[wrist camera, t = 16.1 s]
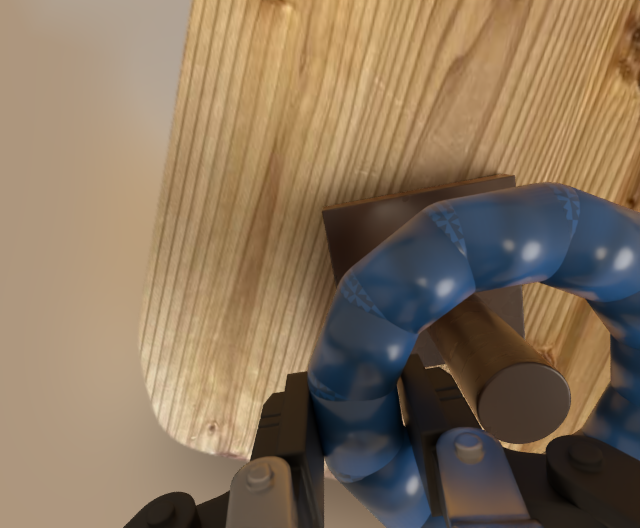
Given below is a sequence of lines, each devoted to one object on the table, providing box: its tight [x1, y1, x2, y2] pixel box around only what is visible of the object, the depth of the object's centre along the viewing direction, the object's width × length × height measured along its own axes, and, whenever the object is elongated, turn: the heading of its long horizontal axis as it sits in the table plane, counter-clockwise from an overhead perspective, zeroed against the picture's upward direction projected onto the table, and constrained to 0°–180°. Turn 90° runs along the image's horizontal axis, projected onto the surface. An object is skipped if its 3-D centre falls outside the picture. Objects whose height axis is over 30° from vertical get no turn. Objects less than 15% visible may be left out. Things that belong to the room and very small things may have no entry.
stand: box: [322, 174, 571, 444], centre depth 16 cm, size 9×9×12 cm
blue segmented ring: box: [307, 182, 640, 528], centre depth 11 cm, size 11×11×2 cm
